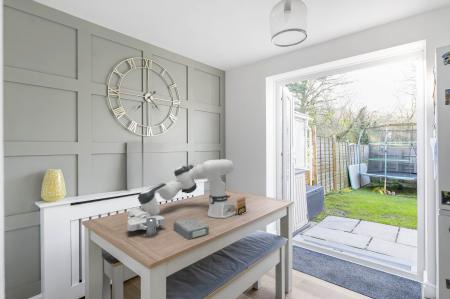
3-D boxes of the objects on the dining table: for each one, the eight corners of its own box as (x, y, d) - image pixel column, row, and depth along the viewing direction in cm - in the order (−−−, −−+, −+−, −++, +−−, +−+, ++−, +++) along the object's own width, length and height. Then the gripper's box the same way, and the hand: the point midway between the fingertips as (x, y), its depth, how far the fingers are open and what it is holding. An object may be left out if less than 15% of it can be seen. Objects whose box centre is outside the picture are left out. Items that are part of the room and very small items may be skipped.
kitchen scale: (192, 225, 144) (193, 217, 144) (209, 234, 130) (209, 225, 130) (173, 229, 136) (173, 221, 136) (188, 240, 122) (188, 231, 122)
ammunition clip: (237, 216, 163) (238, 198, 163) (235, 215, 165) (236, 198, 164) (245, 212, 172) (246, 196, 172) (243, 211, 173) (244, 195, 173)
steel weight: (153, 233, 131) (153, 217, 130) (157, 236, 127) (157, 219, 126) (144, 235, 127) (144, 218, 127) (148, 238, 124) (148, 221, 123)
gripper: (159, 221, 144) (169, 228, 133) (124, 228, 131) (132, 237, 120) (159, 211, 143) (169, 217, 133) (124, 217, 131) (132, 225, 120)
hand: (151, 226), depth 126 cm, fingers closed on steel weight, 5 cm apart
